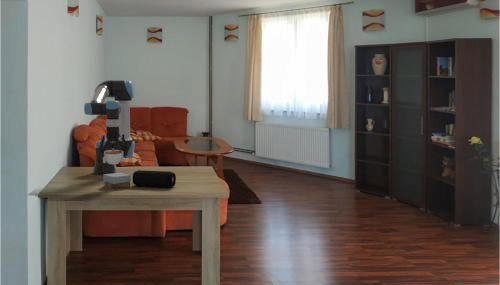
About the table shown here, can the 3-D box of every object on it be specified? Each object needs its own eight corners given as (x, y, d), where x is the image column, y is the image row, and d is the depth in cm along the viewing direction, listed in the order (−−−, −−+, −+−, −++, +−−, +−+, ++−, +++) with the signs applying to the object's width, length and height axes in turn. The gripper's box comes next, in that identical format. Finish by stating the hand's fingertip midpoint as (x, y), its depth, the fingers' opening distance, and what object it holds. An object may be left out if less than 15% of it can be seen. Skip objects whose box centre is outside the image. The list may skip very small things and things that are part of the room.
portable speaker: (176, 186, 364) (176, 170, 363) (171, 189, 354) (171, 173, 353) (137, 184, 368) (137, 168, 366) (131, 187, 358) (131, 171, 357)
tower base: (104, 186, 359) (104, 180, 359) (122, 185, 366) (122, 178, 366) (111, 190, 350) (111, 183, 349) (130, 188, 356) (130, 181, 356)
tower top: (103, 180, 357) (103, 174, 357) (120, 178, 366) (120, 172, 365) (113, 183, 349) (113, 177, 348) (130, 181, 357) (130, 175, 356)
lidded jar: (105, 162, 360) (105, 147, 359) (123, 162, 361) (123, 147, 359) (102, 165, 349) (102, 149, 348) (120, 165, 350) (120, 149, 349)
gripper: (96, 127, 342) (96, 164, 345) (133, 125, 355) (133, 161, 358) (92, 126, 349) (92, 162, 351) (128, 124, 362) (128, 159, 364)
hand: (113, 161), depth 355 cm, fingers closed on lidded jar, 11 cm apart
